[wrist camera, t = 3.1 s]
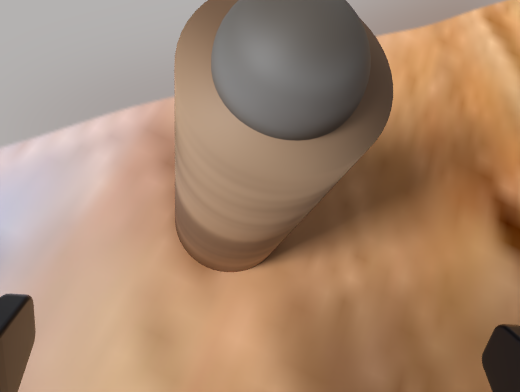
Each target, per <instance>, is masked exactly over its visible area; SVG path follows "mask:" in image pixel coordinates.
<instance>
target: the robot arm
mask: <svg viewBox="0 0 520 392" xmlns="http://www.w3.org/2000/svg"><path fill="white" fill-rule="evenodd" d="M34 340H35V318H34V305H33V300H32V297H31V296H29V295H24V294H5V295H3V296H1V297H0V392H18V389H19V386H20V383H21V380H22V377H23V374H24V371H25V368H26V365H27V362H28V359H29V356H30V353H31V350H32V347H33V344H34ZM482 364H483V368H484V370H485V373H486V376H487V378H488V381H489V383H490V386H491V389H492V391H493V392H520V326H518V325H506V324H501V325H498V326H497V327H496V328H495V329H494V331H493V333H492V335H491V337H490V339H489V341H488V343H487V345H486V347H485V349H484V352H483V354H482Z"/></svg>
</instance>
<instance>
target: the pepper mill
mask: <svg viewBox="0 0 520 392" xmlns="http://www.w3.org/2000/svg"><path fill="white" fill-rule="evenodd" d="M174 73H175V223H176V230H177V234H178V237H179V239H180V242H181V243H182V245H183V247H184V248H185V250H186V251H187V252H188V253H189V254H190V255H191V256H192V257H193V258H194V259H195V260H196V261H198V262H199V263H201V264H202V265H204V266H206V267H208V268H211V269H214V270H217V271H223V272H237V271H243V270H246V269H249V268H252V267H254V266H256V265H258V264H259V263H261V262H262V261H263V260H265V259H266V258H267V257H268V256H269V255H270V254H271V253H272V251H273V250H274V249H275V248H276V247H277V246H278V245H279V244H280V243H281V242H282V241H283V240H284V239H285V238H286V237H287V235H288V234H289V233H290V232H291V231H292V230H293V229H294V228H295V227H296V226H297V225H298V224H299V223H300V222H301V220H302V219H303V218H304V217H305V216H306V215H307V214H308V213H309V212H310V211H311V210H312V209H313V208H314V207H315V206H316V204H317V203H318V202H319V201H320V200H321V199H322V198H323V197H324V196H325V195H326V194H327V193H328V192H329V191H330V189H331V188H332V187H333V186H334V185H335V184H336V183H337V182H338V181H339V180H340V179H341V178H342V177H343V176H344V175H345V173H346V172H347V171H348V170H349V169H350V168H351V167H352V166H353V165H354V164H355V163H356V162H357V161H358V160H359V159H360V157H361V156H362V155H363V154H364V153H365V152H366V151H367V150H368V149H369V148H370V147H371V146H372V145H373V144H374V142H375V141H376V140H377V138H378V137H379V136H380V134H381V133H382V131H383V129H384V127H385V125H386V123H387V121H388V118H389V115H390V111H391V107H392V100H393V82H392V75H391V70H390V67H389V63H388V60H387V58H386V55H385V53H384V51H383V49H382V47H381V45H380V44H379V42H378V40H377V38H376V37H375V36H374V35H373V33H372V32H371V30H370V29H369V28H368V27H367V26H366V24H365V23H364V22H363V21H362V20H361V19H360V18H359V17H358V15H357V14H356V12H355V11H354V10H353V8H352V7H351V6H350V5H349V3H348V2H347V1H346V0H208V1H207V2H205V3H204V4H203V5H202V6H201V7H200V8H198V10H196V11H195V13H194V14H193V15H192V17H191V18H190V19H189V20H188V21H187V23H186V25H185V27H184V29H183V30H182V32H181V35H180V38H179V41H178V43H177V48H176V53H175V70H174Z"/></svg>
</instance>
